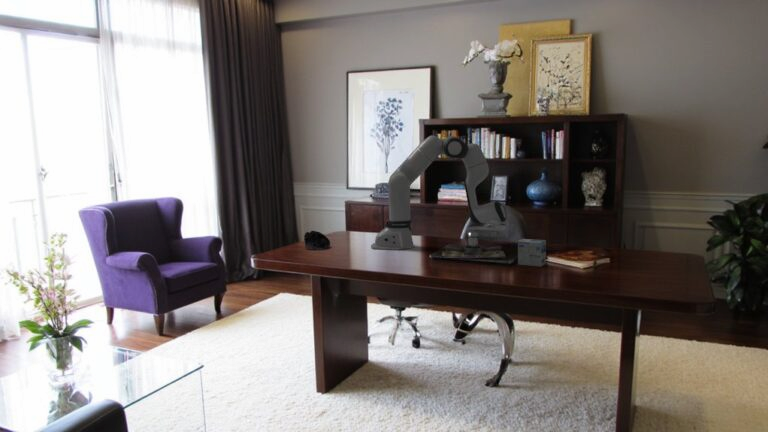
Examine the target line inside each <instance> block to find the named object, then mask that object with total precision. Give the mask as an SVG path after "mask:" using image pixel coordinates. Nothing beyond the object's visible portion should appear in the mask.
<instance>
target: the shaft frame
mask: <svg viewBox="0 0 768 432" xmlns="http://www.w3.org/2000/svg"><path fill="white" fill-rule="evenodd" d="M502 249H503V248H502V245H497V246H491V247H484V248H483V245H481V244H480V245H478V249H473V248H468V244H467V245H463V248H462V247H456V246H450V245H445V247H444V250H442V253H441V257H442V256H444V257H465V256H466V257H467V256H469V257H471V256H476V257H479V256H480V257H503V256H505V257H506V253H505V251H503V250H502Z"/></svg>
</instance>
